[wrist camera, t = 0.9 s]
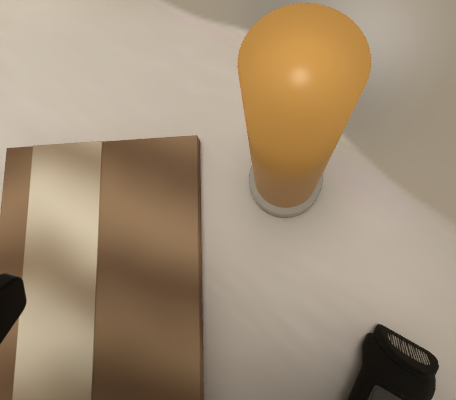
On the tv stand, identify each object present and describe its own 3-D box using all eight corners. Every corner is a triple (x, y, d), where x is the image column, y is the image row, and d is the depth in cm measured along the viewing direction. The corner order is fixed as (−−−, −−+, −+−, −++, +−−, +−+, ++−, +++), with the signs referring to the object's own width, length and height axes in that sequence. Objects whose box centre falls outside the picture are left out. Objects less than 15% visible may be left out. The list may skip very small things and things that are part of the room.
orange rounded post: (321, 216, 22) (392, 128, 9) (251, 219, 22) (228, 138, 10) (316, 149, 23) (374, -14, 10) (249, 153, 23) (223, 1, 11)
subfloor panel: (203, 426, 20) (200, 435, 19) (-8, 425, 22) (-23, 432, 20) (199, 141, 24) (196, 134, 23) (17, 153, 25) (5, 147, 24)
